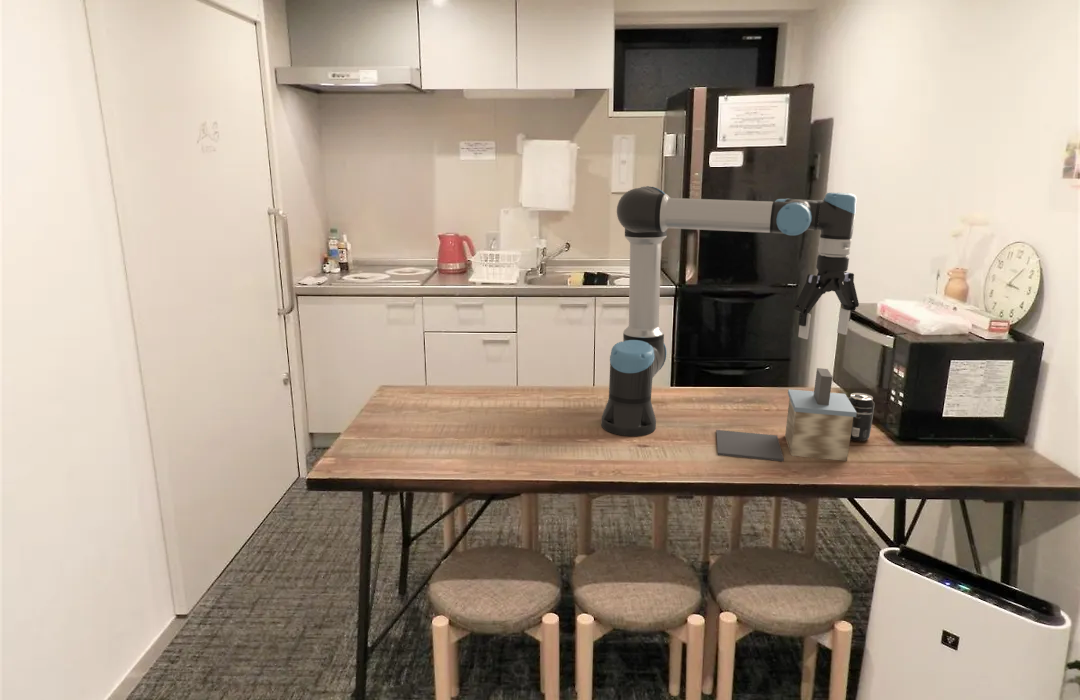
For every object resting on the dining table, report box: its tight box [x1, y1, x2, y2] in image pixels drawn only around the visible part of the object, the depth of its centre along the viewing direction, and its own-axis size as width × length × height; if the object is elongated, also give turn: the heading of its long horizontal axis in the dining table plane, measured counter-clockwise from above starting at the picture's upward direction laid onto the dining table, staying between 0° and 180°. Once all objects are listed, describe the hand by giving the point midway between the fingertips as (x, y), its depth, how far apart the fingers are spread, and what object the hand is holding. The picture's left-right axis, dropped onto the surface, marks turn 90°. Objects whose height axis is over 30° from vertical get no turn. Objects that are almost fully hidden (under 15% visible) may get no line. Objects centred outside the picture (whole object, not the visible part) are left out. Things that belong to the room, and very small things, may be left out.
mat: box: [715, 429, 785, 462], centre depth 187 cm, size 16×16×1 cm
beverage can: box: [847, 392, 875, 442], centre depth 192 cm, size 7×7×12 cm
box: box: [784, 398, 853, 462], centre depth 185 cm, size 13×13×12 cm
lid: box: [787, 367, 857, 417], centre depth 183 cm, size 14×14×10 cm
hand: (822, 335), depth 187 cm, fingers open, 13 cm apart
